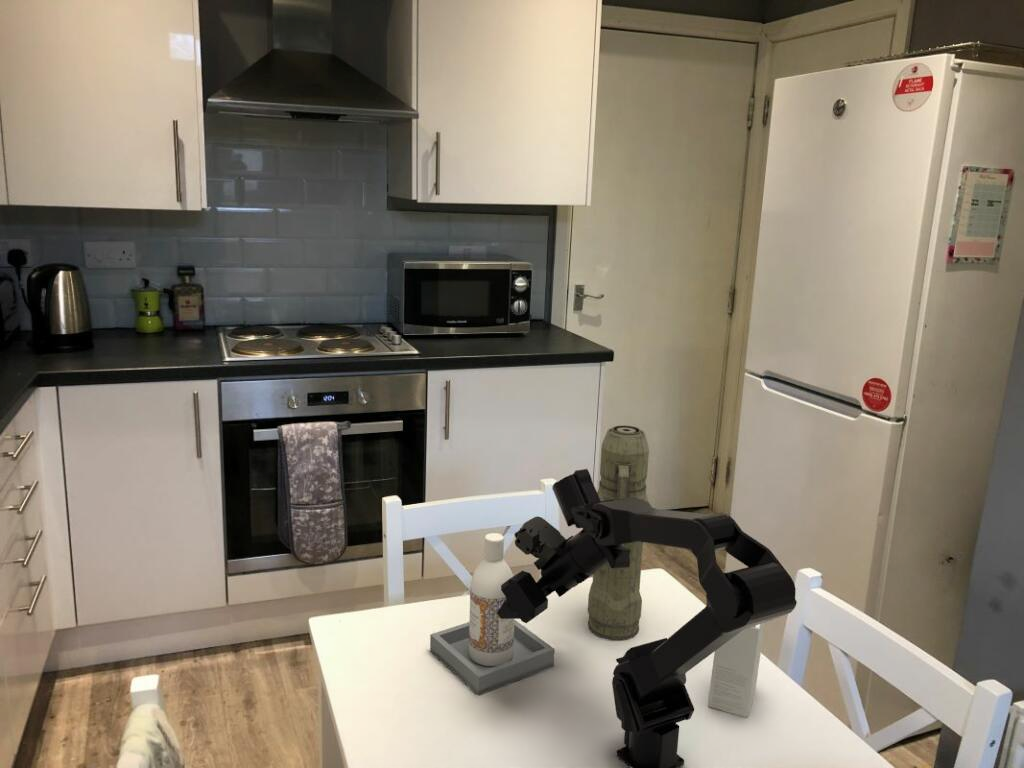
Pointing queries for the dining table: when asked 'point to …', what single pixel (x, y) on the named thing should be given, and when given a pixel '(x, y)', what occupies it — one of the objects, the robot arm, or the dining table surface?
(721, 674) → the skincare box
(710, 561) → the robot arm
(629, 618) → the thermos
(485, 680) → the grey square tray
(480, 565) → the bath foam
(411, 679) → the dining table surface
